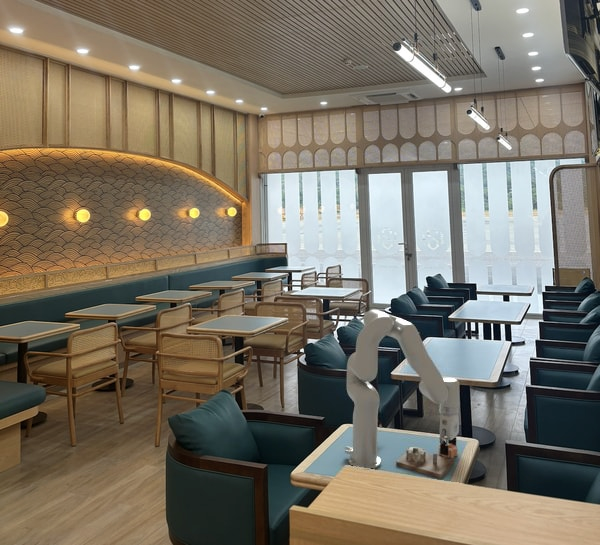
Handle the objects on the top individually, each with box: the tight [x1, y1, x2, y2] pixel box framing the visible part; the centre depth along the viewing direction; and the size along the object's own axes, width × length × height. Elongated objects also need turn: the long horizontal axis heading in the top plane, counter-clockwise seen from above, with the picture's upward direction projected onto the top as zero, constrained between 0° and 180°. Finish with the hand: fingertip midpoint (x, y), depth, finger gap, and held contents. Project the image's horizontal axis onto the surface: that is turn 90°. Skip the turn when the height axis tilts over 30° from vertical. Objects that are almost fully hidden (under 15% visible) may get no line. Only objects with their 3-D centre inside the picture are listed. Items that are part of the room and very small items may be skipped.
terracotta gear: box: [438, 443, 458, 459], centre depth 213 cm, size 7×7×3 cm
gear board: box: [395, 446, 455, 479], centre depth 203 cm, size 18×14×6 cm
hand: (448, 450), depth 213 cm, fingers open, 8 cm apart
